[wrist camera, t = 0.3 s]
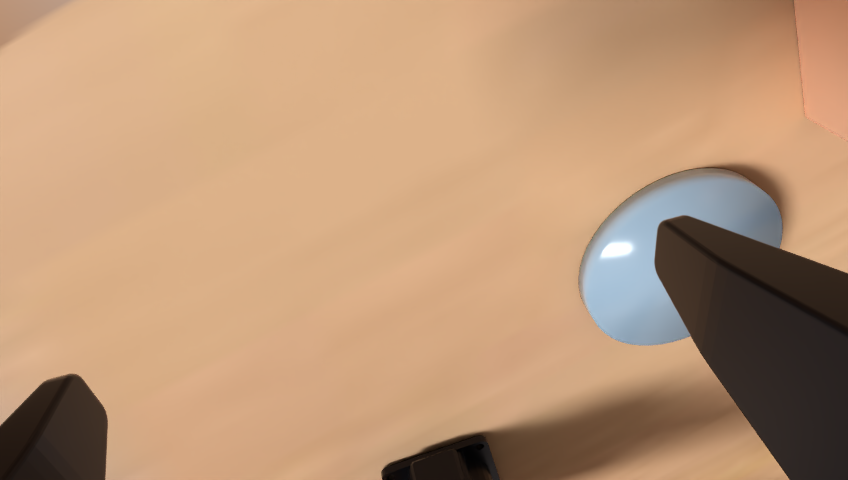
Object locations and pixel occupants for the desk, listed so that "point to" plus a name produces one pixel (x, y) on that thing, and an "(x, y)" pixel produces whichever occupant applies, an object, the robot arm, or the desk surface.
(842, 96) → the container
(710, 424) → the desk surface
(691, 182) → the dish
